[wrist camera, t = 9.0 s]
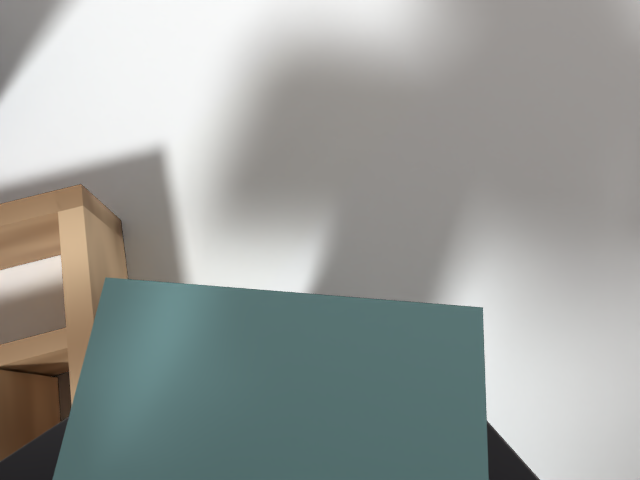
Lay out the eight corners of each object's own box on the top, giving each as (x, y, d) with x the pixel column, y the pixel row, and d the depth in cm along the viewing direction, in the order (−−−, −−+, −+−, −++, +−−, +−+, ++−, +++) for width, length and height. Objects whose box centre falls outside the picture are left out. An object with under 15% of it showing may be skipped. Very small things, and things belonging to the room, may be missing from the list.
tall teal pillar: (372, 539, 13) (505, 970, 3) (244, 524, 13) (-53, 877, 3) (379, 384, 14) (482, 306, 4) (264, 374, 14) (105, 277, 4)
